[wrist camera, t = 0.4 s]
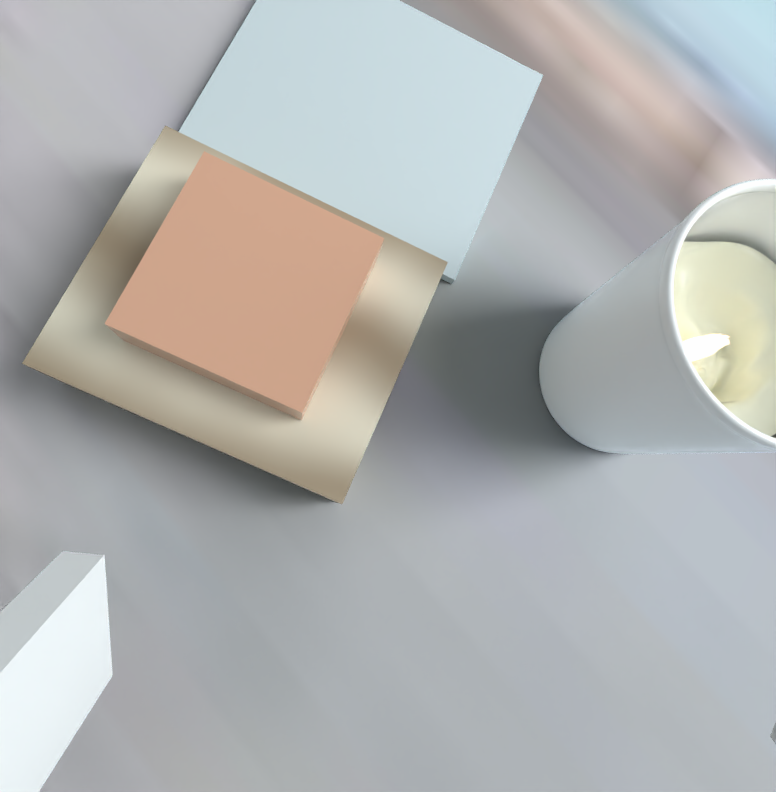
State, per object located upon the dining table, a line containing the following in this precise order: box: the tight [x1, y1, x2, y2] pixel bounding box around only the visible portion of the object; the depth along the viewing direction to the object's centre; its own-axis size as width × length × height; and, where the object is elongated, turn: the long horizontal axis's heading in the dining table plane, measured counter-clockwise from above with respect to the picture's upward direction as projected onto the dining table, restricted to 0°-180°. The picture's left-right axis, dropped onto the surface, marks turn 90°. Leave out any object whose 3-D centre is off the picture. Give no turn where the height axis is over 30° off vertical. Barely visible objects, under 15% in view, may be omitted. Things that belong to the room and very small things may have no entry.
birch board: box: [22, 126, 448, 504], centre depth 26 cm, size 12×14×4 cm
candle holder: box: [539, 179, 776, 454], centre depth 25 cm, size 10×10×12 cm
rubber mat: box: [179, 0, 543, 284], centre depth 31 cm, size 14×16×1 cm
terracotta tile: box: [105, 151, 384, 420], centre depth 23 cm, size 8×8×2 cm
